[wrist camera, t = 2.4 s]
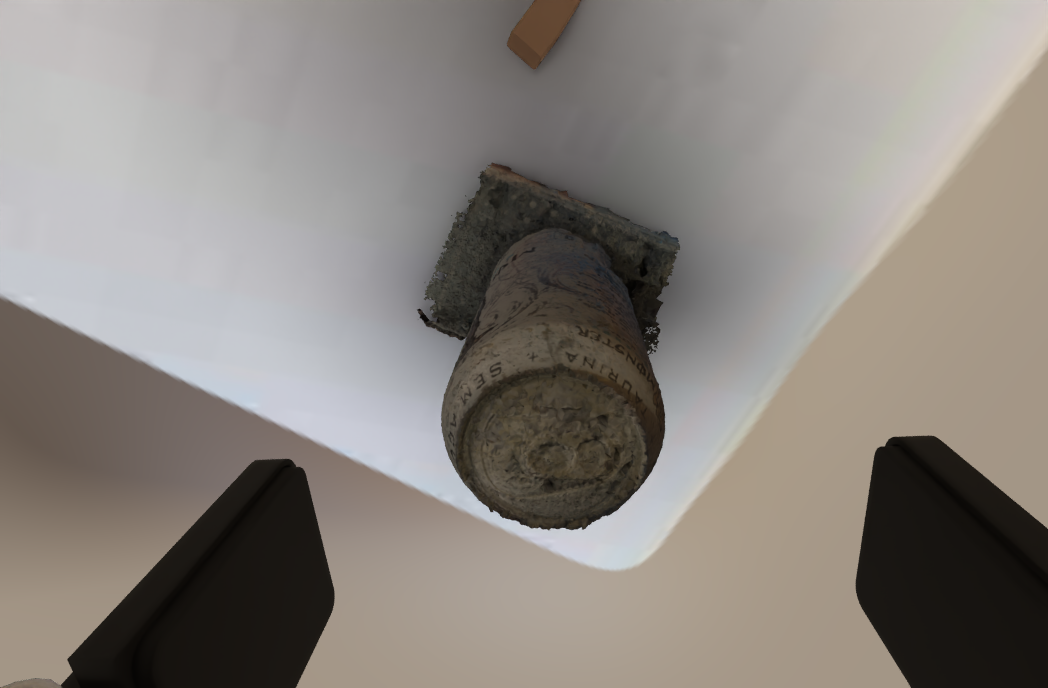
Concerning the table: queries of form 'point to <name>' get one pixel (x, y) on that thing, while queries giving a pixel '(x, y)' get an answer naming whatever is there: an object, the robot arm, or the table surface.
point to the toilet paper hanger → (540, 29)
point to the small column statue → (550, 352)
